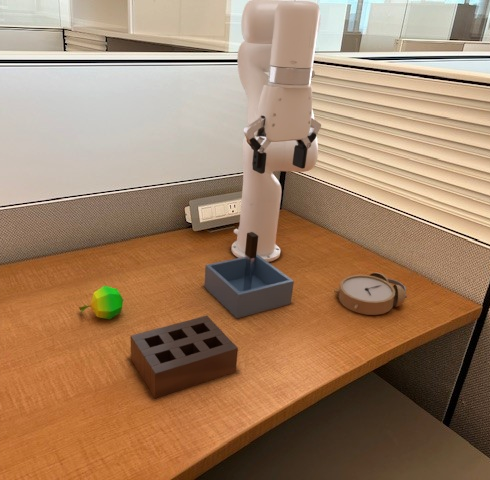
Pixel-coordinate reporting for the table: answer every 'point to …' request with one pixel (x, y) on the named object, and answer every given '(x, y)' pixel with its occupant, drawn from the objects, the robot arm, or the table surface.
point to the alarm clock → (371, 293)
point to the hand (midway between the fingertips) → (278, 169)
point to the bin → (262, 289)
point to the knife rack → (182, 355)
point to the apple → (105, 302)
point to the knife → (250, 259)
